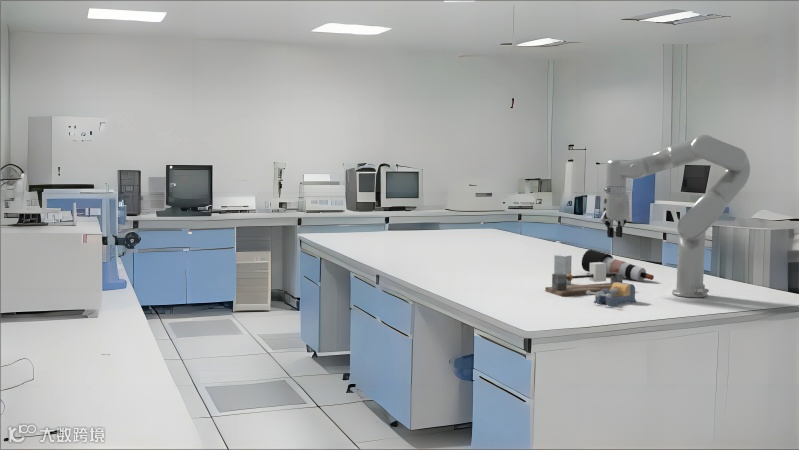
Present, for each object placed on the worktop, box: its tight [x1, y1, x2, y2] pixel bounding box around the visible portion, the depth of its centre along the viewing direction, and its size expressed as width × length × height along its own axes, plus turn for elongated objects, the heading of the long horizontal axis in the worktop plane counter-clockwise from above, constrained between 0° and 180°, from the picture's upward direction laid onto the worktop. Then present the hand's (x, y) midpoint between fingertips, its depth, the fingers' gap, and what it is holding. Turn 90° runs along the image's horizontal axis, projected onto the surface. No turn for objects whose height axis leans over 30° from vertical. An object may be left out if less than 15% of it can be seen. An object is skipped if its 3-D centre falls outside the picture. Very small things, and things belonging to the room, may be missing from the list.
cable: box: [581, 249, 655, 282], centre depth 339 cm, size 10×34×10 cm, turn 38°
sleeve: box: [588, 262, 607, 283], centre depth 306 cm, size 4×5×7 cm
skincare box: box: [553, 253, 573, 285], centre depth 323 cm, size 6×4×12 cm
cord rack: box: [544, 272, 624, 297], centre depth 305 cm, size 12×30×8 cm, turn 111°
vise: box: [586, 282, 637, 307], centre depth 282 cm, size 18×10×7 cm, turn 128°
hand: (614, 236), depth 308 cm, fingers open, 3 cm apart
